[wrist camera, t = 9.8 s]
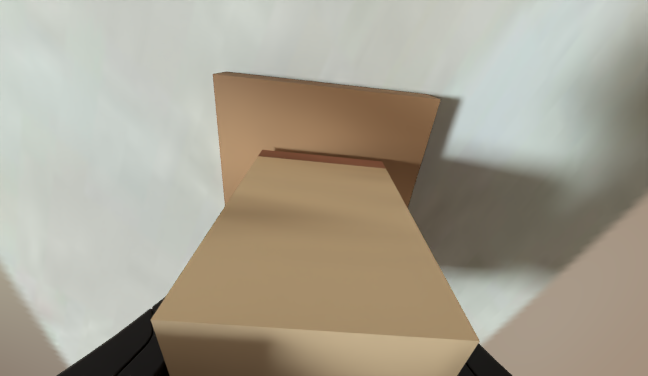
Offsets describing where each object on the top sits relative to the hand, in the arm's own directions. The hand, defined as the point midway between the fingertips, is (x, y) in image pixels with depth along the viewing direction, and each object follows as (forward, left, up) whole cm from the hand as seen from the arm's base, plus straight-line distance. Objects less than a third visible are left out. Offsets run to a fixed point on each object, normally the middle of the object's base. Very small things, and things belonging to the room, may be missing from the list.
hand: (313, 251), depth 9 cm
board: (-3, 0, -3) cm, 4 cm away
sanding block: (0, 0, -1) cm, 1 cm away
